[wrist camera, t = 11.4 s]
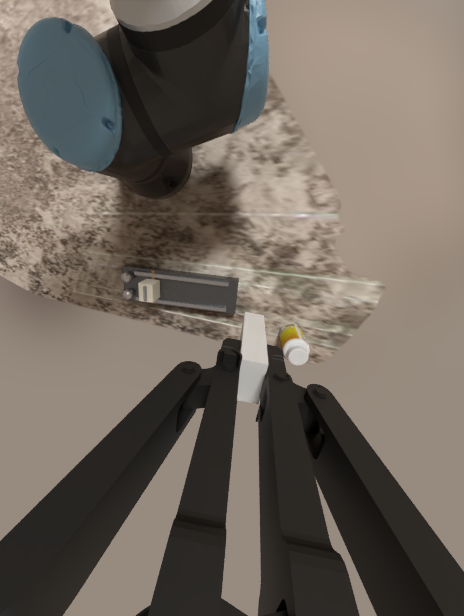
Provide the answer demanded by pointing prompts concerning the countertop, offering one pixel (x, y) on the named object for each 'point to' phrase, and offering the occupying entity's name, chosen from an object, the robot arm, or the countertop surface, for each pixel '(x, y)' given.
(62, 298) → the countertop surface
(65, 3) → the countertop surface
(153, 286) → the fader tab
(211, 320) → the countertop surface
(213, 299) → the console
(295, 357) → the supplement bottle
